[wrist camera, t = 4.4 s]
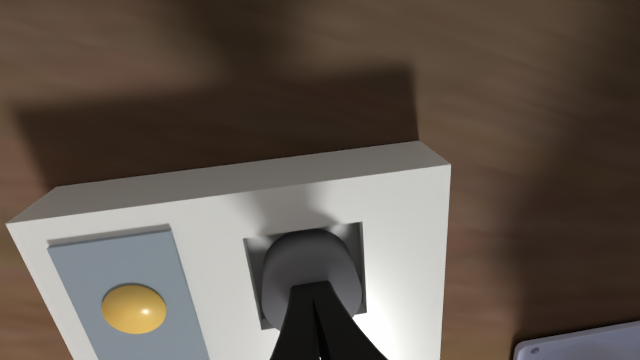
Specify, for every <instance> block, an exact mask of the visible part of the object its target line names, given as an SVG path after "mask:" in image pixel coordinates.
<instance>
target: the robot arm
mask: <svg viewBox="0 0 640 360" xmlns="http://www.w3.org/2000/svg"><path fill="white" fill-rule="evenodd" d="M320 358H321V360H388V359H387V358H386V357H385V356H384V355H383V354H382V353H381V352H380V351H379V350H378V349H377V347H376V346H375V345H374V344H373V343H372V342H371V341H370V340H369V338H368V337H367V336H366V335H365V334H364V332H363V331H362V330H361V329H360V328H359V326H358V325H357V324H356V322H355V321H354V320H353V318H352V317H351V316H350V314H349V313H348V311H347V310H346V309H345V307H344V306H343V304H342V302H341V301H340V299H339V298H338V296H337V294H336V292H335V290H334V288H333V286H332V284H331V282H329V281H328V280H326V281H320V282H313V283H307V284H300V285H294V286H292V287H291V288H290V295H289V302H288V306H287V310H286V314H285V318H284V321H283V324H282V328H281V331H280V334H279V337H278V340H277V342H276V345H275V347H274V350H273V352H272V355H271V358H270V360H320ZM513 360H640V321H635V322H629V323H624V324H618V325H612V326H607V327H601V328H596V329H590V330H584V331H579V332H573V333H567V334H562V335H556V336H550V337H545V338H539V339H533V340H528V341H523V342H520V343H519V344H517V346H516V347H515V352H514V357H513Z"/></svg>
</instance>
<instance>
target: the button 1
mask: <svg viewBox="0 0 640 360" xmlns="http://www.w3.org/2000/svg"><path fill="white" fill-rule="evenodd" d="M326 280H328V281H329V282H331V284H332V286H333V288H334V290H335V292H336V294H337V296H338V298H339V299H340V301H341V302H342V304H343V306H344V307H345V309H346V310H347V311H348V313H349V314H350V316H351V317H352V318H353V317H354V316H355V314H356V313H357V311H358V309H359V307H360V304H361V299H362V288H361V284H360V281H359V278H358V275H357V273H356V270H355V267H354V264H353V261H352V258H351V255H350V253H349V250H348V248H347V246H346V245H345V243H344V242H343V241H342V240H341V239H340V238H339V237H338V236H337V235H335V234H333V233H332V232H329V231H327V230H323V229H319V228H313V229H306V230H299V231H292V232H288V233H286V234H284V235H283V236H281V237H280V238H278V239H277V240H276V241H275V242H274V243H273V244H272V245H271V246H270V248H269V249H268V251H267V253H266V255H265V258H264V262H263V281H262V309H263V312H264V315H265V317H266V318H267V320H268V321H269V323H270V324H271V325H272V326H273V327H275V328H276V329H277V330H279V331H281V328H282V324H283V321H284V318H285V314H286V310H287V306H288V302H289V295H290V288H291V287H292V286H294V285H300V284H307V283H313V282H320V281H326Z"/></svg>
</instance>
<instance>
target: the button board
mask: <svg viewBox="0 0 640 360" xmlns="http://www.w3.org/2000/svg"><path fill="white" fill-rule="evenodd" d="M450 175H451V164H450V163H449V162H447V161H446V160H445V159H443V158H442V157H441V156H439V155H438V154H437V153H435V152H434V151H433V150H431V149H430V148H429V147H427V146H426V145H425V144H423V143H422V142H421V141H412V142H404V143H396V144H388V145H380V146H372V147H365V148H357V149H349V150H341V151H333V152H325V153H317V154H310V155H302V156H294V157H286V158H278V159H270V160H262V161H254V162H247V163H239V164H231V165H223V166H215V167H207V168H199V169H191V170H184V171H176V172H168V173H160V174H152V175H144V176H136V177H128V178H121V179H113V180H105V181H97V182H89V183H81V184H73V185H66V186H58V187H55V188H54V189H52V190H51V191H50V192H48V193H47V194H46V195H44V196H43V197H42V198H40V199H39V200H37V201H36V202H35V203H33V204H32V205H31V206H29V207H28V208H26V209H25V210H24V211H22V212H21V213H20V214H18V215H17V216H16V217H14V218H13V219H11V220H10V221H9V222H7V223H6V226H7V228H8V230H9V232H10V234H11V236H12V238H13V240H14V242H15V244H16V246H17V248H18V250H19V252H20V254H21V256H22V258H23V260H24V262H25V264H26V266H27V268H28V270H29V272H30V274H31V276H32V278H33V280H34V282H35V284H36V285H37V287H38V289H39V291H40V293H41V295H42V297H43V299H44V301H45V303H46V305H47V307H48V309H49V311H50V313H51V315H52V317H53V319H54V321H55V323H56V325H57V327H58V329H59V331H60V333H61V335H62V337H63V339H64V341H65V343H66V345H67V347H68V349H69V351H70V353H71V355H72V357H73V359H74V360H270V358H271V355H272V352H273V350H274V347H275V345H276V342H277V340H278V337H279V334H280V331H279V330H277V329H276V328H275V327H273V326H272V325H271V324H270V323H269V321H268V320H267V318H266V317H265V315H264V312H263V309H262V281H263V262H264V258H265V255H266V253H267V251H268V249H269V248H270V246H271V245H272V244H273V243H274V242H275V241H276V240H277V239H278V238H280V237H281V236H283V235H284V234H286V233H288V232H292V231H299V230H306V229H313V228H319V229H323V230H327V231H329V232H332V233H333V234H335V235H337V236H338V237H339V238H340V239H341V240H342V241H343V242H344V243H345V245H346V246H347V248H348V250H349V253H350V255H351V258H352V261H353V264H354V267H355V270H356V273H357V275H358V278H359V281H360V284H361V288H362V299H361V304H360V307H359V309H358V311H357V313H356V314H355V316H354V317H353V320H354V321H355V322H356V324H357V325H358V326H359V328H360V329H361V330H362V331H363V332H364V334H365V335H366V336H367V337H368V338H369V340H370V341H371V342H372V343H373V344H374V345H375V346H376V347H377V349H378V350H379V351H380V352H381V353H382V354H383V355H384V356H385V357H386V358H387V359H388V360H440V345H441V328H442V311H443V294H444V277H445V260H446V243H447V226H448V209H449V192H450ZM320 360H321V358H320Z"/></svg>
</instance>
